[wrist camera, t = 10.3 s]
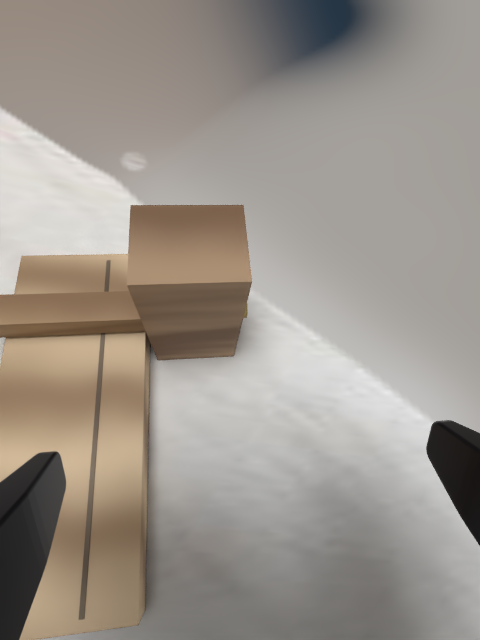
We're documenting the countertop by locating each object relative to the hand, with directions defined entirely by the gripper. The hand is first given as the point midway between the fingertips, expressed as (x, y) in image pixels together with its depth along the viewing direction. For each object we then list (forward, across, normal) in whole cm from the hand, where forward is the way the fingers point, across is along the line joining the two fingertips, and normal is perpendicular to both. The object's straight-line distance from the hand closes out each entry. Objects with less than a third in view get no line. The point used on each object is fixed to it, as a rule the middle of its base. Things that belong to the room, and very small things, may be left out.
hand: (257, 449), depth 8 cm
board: (+12, +8, +7) cm, 16 cm away
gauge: (+16, +6, +4) cm, 17 cm away
